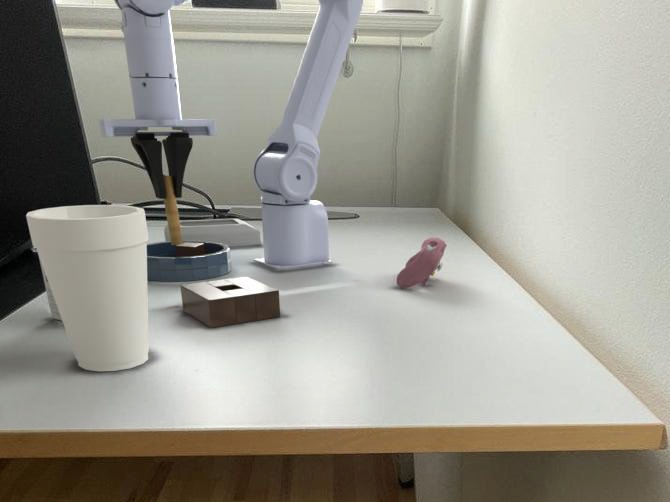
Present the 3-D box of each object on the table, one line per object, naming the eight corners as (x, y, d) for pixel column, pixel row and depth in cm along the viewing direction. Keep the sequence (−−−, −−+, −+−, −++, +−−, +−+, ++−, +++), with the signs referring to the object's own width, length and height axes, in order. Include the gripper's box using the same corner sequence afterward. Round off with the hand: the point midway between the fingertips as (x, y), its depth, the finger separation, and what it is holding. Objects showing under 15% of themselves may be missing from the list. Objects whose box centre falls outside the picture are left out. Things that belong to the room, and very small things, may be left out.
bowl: (209, 261, 103) (206, 237, 101) (247, 277, 93) (245, 251, 91) (121, 271, 96) (117, 246, 94) (152, 289, 86) (148, 262, 84)
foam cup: (105, 384, 56) (74, 223, 50) (38, 365, 61) (1, 213, 54) (186, 355, 63) (168, 209, 57) (120, 339, 68) (96, 202, 61)
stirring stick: (183, 243, 91) (172, 176, 88) (182, 244, 90) (171, 175, 86) (172, 244, 91) (160, 177, 88) (170, 245, 90) (159, 176, 86)
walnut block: (187, 263, 99) (185, 242, 97) (206, 264, 98) (204, 243, 97) (178, 267, 96) (175, 245, 95) (196, 268, 96) (194, 246, 94)
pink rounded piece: (422, 301, 88) (449, 254, 84) (392, 284, 87) (418, 235, 84) (430, 285, 96) (455, 241, 93) (403, 269, 96) (427, 224, 92)
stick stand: (248, 301, 81) (246, 276, 80) (280, 316, 75) (279, 290, 74) (183, 310, 77) (179, 284, 76) (211, 328, 71) (208, 300, 70)
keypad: (259, 224, 112) (168, 228, 107) (261, 247, 114) (171, 252, 109) (247, 216, 120) (162, 220, 115) (249, 238, 121) (165, 242, 117)
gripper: (102, 75, 75) (123, 204, 82) (221, 79, 82) (231, 197, 89) (87, 77, 80) (107, 198, 87) (200, 81, 87) (210, 192, 94)
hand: (168, 197), depth 88 cm, fingers closed on stirring stick, 1 cm apart
